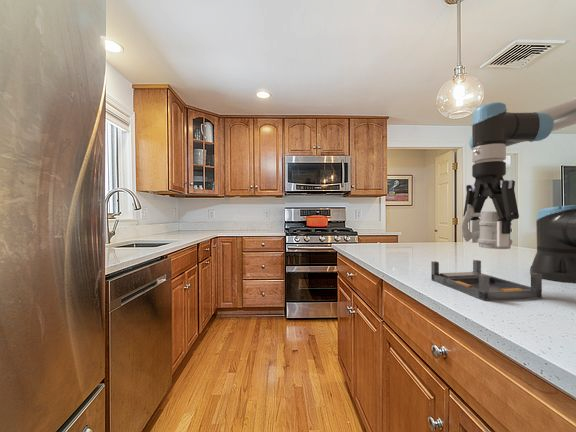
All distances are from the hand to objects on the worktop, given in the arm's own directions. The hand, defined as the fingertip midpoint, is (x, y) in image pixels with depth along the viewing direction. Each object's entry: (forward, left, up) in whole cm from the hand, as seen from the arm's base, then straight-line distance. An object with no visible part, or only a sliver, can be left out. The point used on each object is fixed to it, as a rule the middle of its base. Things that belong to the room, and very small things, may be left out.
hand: (488, 244), depth 77 cm
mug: (0, -1, -1) cm, 1 cm away
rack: (0, -3, -13) cm, 13 cm away
